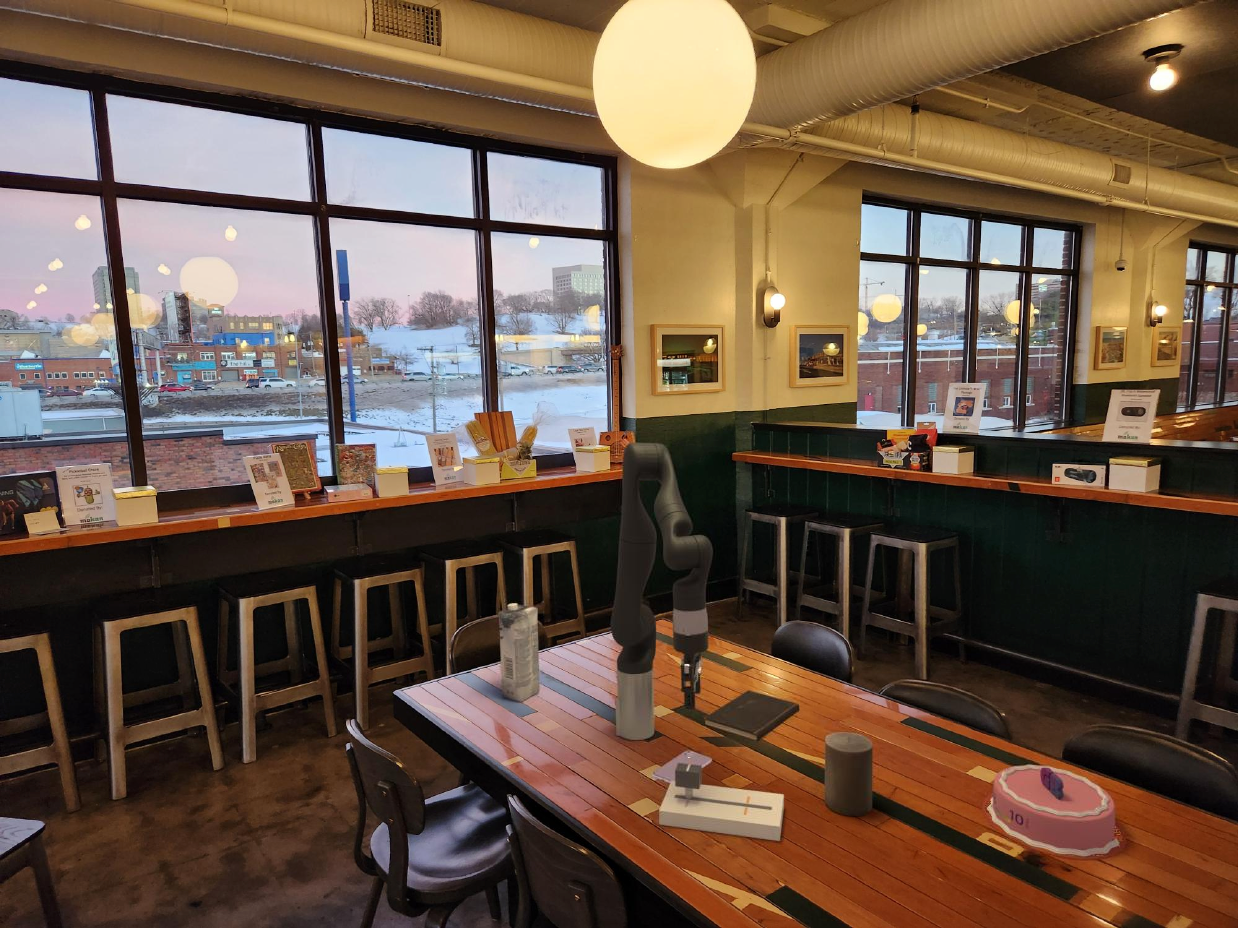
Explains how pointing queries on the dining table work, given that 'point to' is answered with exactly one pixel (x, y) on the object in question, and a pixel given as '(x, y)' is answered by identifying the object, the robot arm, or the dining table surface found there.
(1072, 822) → the cake
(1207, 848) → the dining table surface
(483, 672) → the dining table surface
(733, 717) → the hardcover book
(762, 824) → the dimmer panel
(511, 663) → the juice carton
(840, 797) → the pillar candle
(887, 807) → the dining table surface
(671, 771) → the mobile phone
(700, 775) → the fader
